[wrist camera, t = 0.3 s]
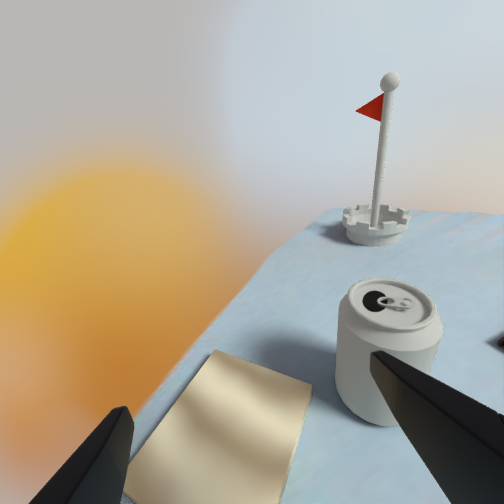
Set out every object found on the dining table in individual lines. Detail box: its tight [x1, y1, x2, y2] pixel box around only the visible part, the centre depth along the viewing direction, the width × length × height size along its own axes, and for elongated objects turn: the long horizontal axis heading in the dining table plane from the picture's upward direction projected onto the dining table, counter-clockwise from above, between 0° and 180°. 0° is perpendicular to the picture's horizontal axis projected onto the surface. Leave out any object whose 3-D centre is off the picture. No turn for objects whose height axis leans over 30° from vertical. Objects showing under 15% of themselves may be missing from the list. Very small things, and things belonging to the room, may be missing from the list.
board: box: [123, 350, 313, 504], centre depth 23 cm, size 14×12×2 cm
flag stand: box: [342, 72, 411, 247], centre depth 49 cm, size 13×13×30 cm
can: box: [335, 278, 443, 427], centre depth 22 cm, size 8×8×12 cm
